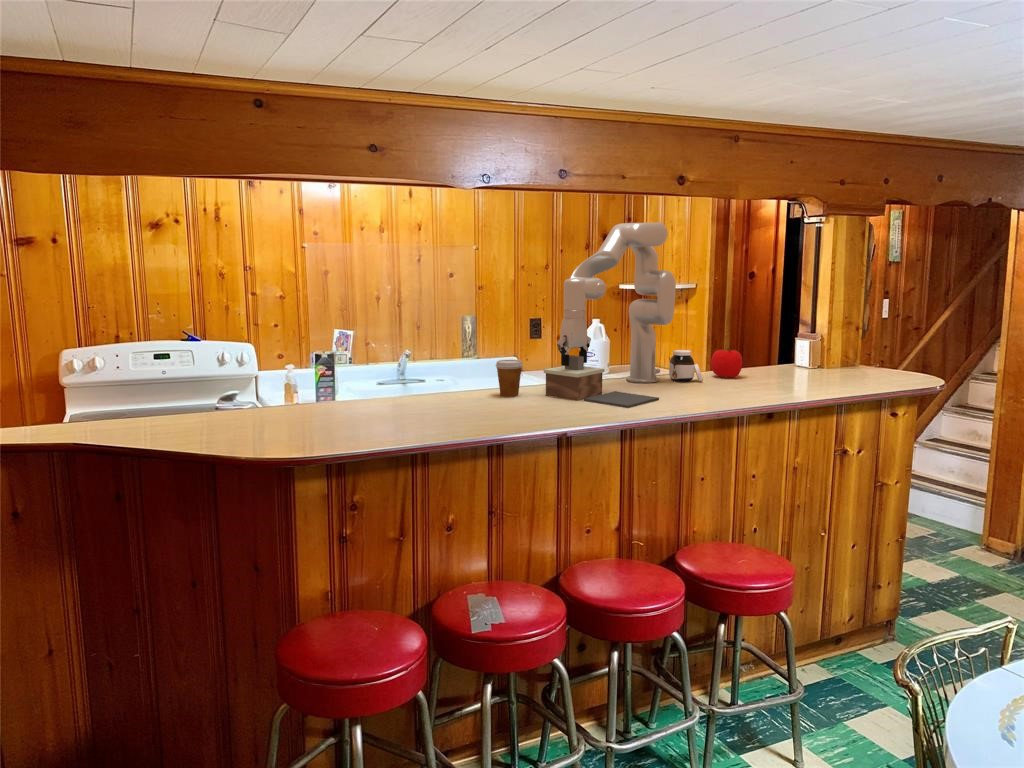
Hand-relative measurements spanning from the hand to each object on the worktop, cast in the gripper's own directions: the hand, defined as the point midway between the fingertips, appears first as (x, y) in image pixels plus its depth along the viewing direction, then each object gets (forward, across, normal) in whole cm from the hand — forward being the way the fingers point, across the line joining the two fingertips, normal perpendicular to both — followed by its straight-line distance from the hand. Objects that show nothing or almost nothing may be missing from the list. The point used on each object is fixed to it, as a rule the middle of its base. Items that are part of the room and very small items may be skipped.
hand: (574, 364), depth 256 cm
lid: (+4, 0, 0) cm, 4 cm away
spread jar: (+11, -52, +14) cm, 55 cm away
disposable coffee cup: (+11, +15, -17) cm, 25 cm away
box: (+11, 0, 0) cm, 11 cm away
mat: (+11, -3, +18) cm, 21 cm away
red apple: (+11, -70, +21) cm, 74 cm away
